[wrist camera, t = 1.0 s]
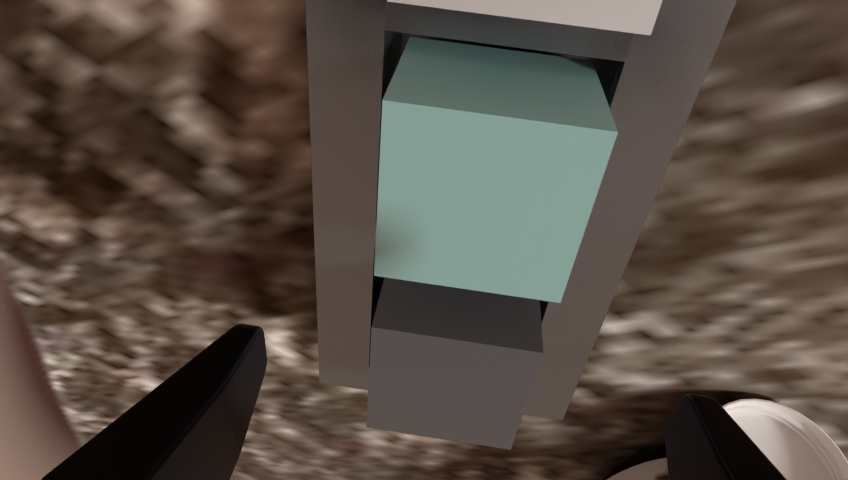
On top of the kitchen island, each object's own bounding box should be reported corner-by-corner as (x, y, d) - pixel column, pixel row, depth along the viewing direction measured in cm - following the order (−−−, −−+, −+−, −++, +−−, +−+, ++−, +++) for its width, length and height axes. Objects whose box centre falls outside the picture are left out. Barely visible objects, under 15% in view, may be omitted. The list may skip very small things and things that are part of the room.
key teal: (592, 60, 15) (617, 132, 12) (550, 211, 18) (560, 303, 15) (409, 36, 15) (382, 100, 12) (398, 190, 18) (373, 275, 15)
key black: (536, 258, 19) (543, 353, 16) (510, 353, 22) (510, 449, 19) (394, 238, 19) (371, 326, 16) (387, 335, 23) (366, 427, 19)
